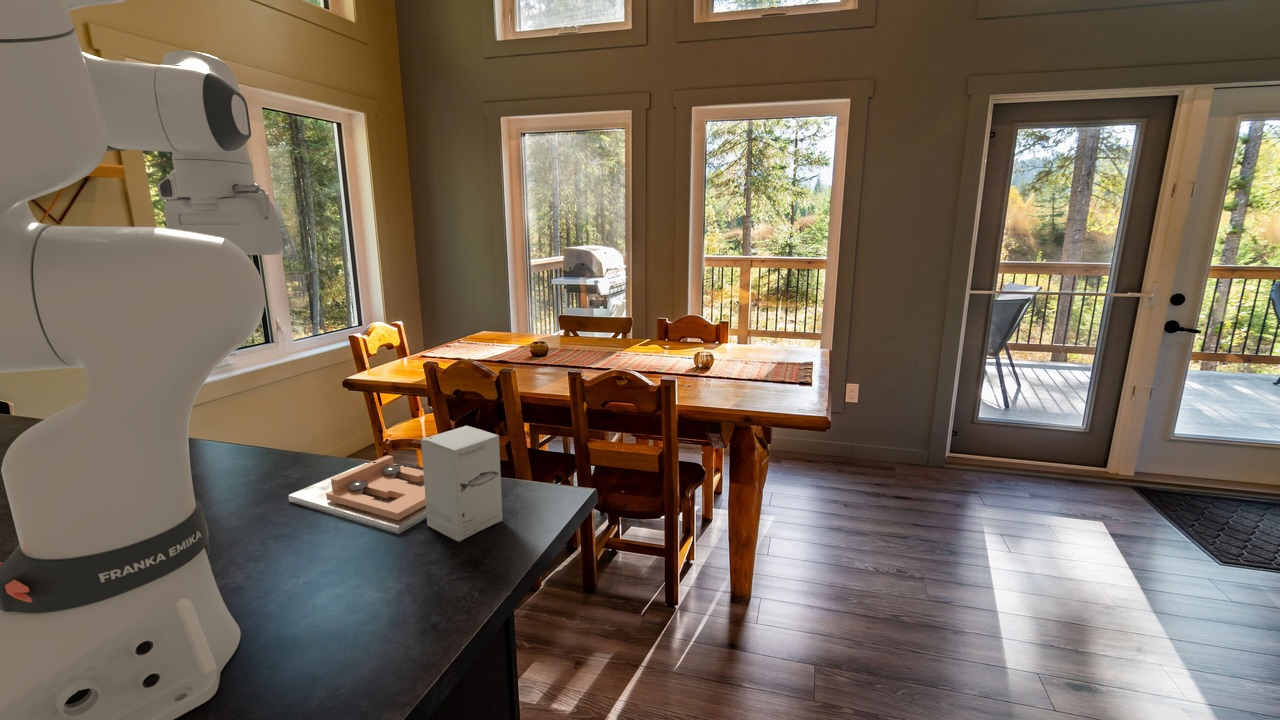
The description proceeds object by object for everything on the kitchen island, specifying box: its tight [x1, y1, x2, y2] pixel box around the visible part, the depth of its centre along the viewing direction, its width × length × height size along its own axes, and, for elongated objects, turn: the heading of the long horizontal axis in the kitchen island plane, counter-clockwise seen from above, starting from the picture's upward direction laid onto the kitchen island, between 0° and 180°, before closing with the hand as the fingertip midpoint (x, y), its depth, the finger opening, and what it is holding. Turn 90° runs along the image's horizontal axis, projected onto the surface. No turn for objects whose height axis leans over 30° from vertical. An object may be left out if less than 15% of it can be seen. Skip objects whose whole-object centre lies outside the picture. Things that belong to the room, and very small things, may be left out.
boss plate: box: [287, 462, 427, 535], centre depth 85 cm, size 14×22×3 cm, turn 65°
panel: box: [326, 455, 426, 520], centre depth 84 cm, size 12×14×3 cm
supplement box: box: [420, 425, 504, 543], centre depth 76 cm, size 7×7×13 cm
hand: (232, 286), depth 81 cm, fingers closed
